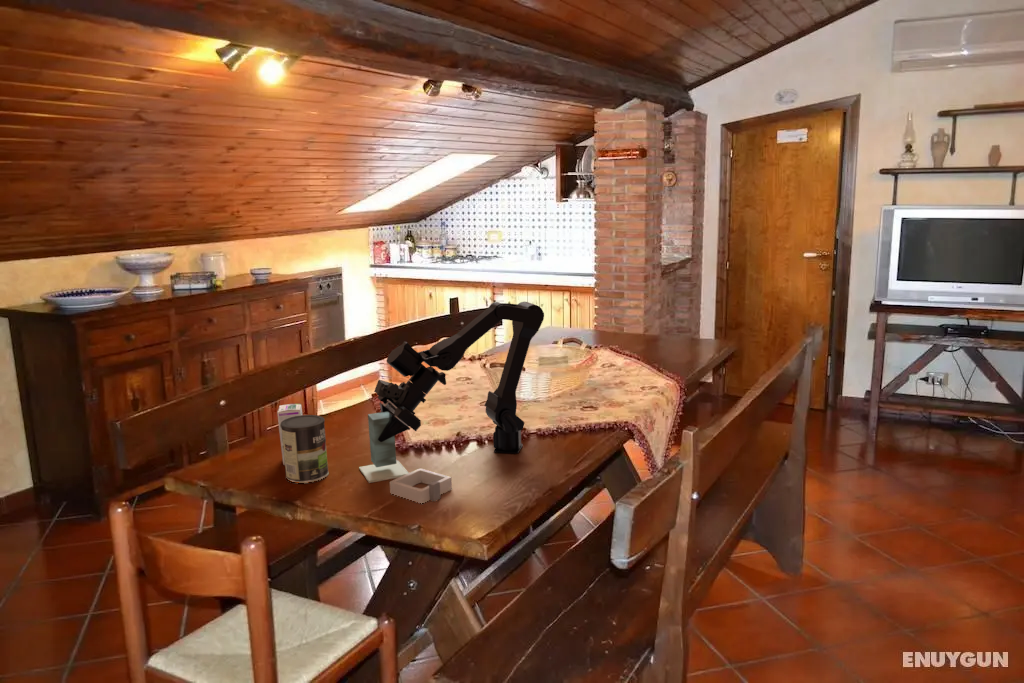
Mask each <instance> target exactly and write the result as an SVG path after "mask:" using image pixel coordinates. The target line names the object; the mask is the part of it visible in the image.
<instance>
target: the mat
mask: <svg viewBox="0 0 1024 683" xmlns="http://www.w3.org/2000/svg"><path fill="white" fill-rule="evenodd" d="M358 469H359V471H360V472H361V474H362V475H363V476H364V478H365V479H366V481H367V482H368V484H370V483H376V482H381V481H387V480H392V479H393V480H394V479H397V478H399V477H401V476H404V475H406V474H408V473H410V472H409V471H408V470H407V469H406V468H405V467H404V465H403V464H402V463H401V462H400V461H399V459H398V460H397V459H396V464H392V465H387V466H382V467H376V466H375V465H374V464H373V463H372V464H368V465H363V466H359V467H358Z"/></svg>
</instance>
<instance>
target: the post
mask: <svg viewBox="0 0 1024 683" xmlns="http://www.w3.org/2000/svg"><path fill="white" fill-rule="evenodd" d="M367 421H368V422H367V423H368V433H369V446H370V447H369V448H370V461H371V462H372V465H373V464H374V465H375V466H376V467H382V466H387V465H392V464H396V460H397V451H396V437H395V436H396V435H395V436H393V437H391V438H389V439H387V440H385V441H383V442H380V441H379V440H378V438H379V436H380V435H381V433H382V431H383V430H384V428H385V427H386V425H387V424H388V422H389V412H388V411H386V412H381V411H380V412H376V413H375V412H374V413H368V414H367Z"/></svg>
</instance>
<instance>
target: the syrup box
mask: <svg viewBox="0 0 1024 683" xmlns="http://www.w3.org/2000/svg"><path fill="white" fill-rule="evenodd" d="M302 408H303V405H302V403H288V404H282V405H281V404H280V405H279V406H278V409H277V421H278V432H279V440H280V450H281V457H282V464H283V466H285V460H284V449H283V439H282V428H281V425H280V424H281V422H282V421H283V420H285V419H288V418H291V417H294V416H301V415H303V409H302Z"/></svg>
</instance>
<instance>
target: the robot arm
mask: <svg viewBox="0 0 1024 683" xmlns="http://www.w3.org/2000/svg"><path fill="white" fill-rule="evenodd" d="M544 319H545V312H544V311H543V308H541V306H539V305H537V304H534V303H531V302H528V301H521V302H519V303H517V304H516V303H509V302H508V303H507V302H505V303H503V302H500V301H495V302H492V303H491V304H489V306H488V307H487V308H486V309H485V310H484V311H482V312H480V313H479V314H478V315H477V316H476V317H475V318H474V319H473V320H472V321H470V322H469V323H468V324H467V325H465V326H464V327H463V328H462V329H460V330H459V331H458V332H457V333H456V334H453V335H452V336H449V337H447V338H444V339H442V340H440V341H438V342H437V343H435V344H433V345H431V347H430V348H429V349H426V350H422V351H417V350H415V349H414V348H413V347H412V345H411V344H410V343H408V342H407V341H403V342H402V344H400V345H398V346H397V347H395V348H394V349H392V350H391V352H390V353H389V354H388V356H387V359H386V363H387V364H388V365H389V366H390V367H391V368H393V369H394V370H395V371H396V372H398V373H399V374H400V375H401V376H403V377H404V378H405V377H410V378H409V379H408V380H407V382H405V381H403V382H401V383H400V384H399V385H398V384H397V383H393V382H391V381H390V382H389V381H385V380H382V379H378V380H377V383H376V385H375V388H374V391H373V393H375V394H376V395H377V396H378V397H377V399H378V400H379V401H380V402H379V408H380V412H386V411H388V412H389V422H388V424H387V425H386V427H385V428H384V430H383V431H382V433H381V435H380V436H379V438H378V440H379V441H380V442H383V441H385V440H387V439H389V438H391V437H393V436H396V435H399V434H402V433H403V432H406V431H410V430H411V429H412V430H413V431H414V432H417V431H418V429H419V428H420V427H421V425H422V424H421V423H422V420H421V419H420V418H419V417H418V416H416V412H415V410H416V408H417V407H418V406H419V405H420V404H421V403H423V404H425V403H426V401H427V399H426V398H425V397H426V396H427V395H428V394H429V393H430V392H431V390H432V389H433V388H434V387H435V385H436V384H437V383H438V382H439V383H441V384H442V385H444V386H446V385H447V379H446V375H447V374H446V373H445V372H447V371H450V370H452V369H454V368H455V366H457V365H458V363H459V362H460V361H461V360H462V359H463V356H464V355H465V353H466V351H467V350H468V349H469V348H470V347H471V346H472V345H473V344H475V343H476V342H477V341H478V340H480V339H481V338H482V337H483V336H484V335H485V334H487V333H488V332H489V331H490V330H491V329H493V328H494V327H495V326H497V324H499V323H500V322H501V321H503V320H507V321H511V325H512V338H511V342H510V345H509V348H508V351H507V355H506V359H505V362H504V366H503V369H502V372H501V377H500V379H499V383H498V386H497V388H496V389H495V390H494V391H490V390H489V391H488V393H487V398H486V402H485V403H484V407H485V413H486V416H487V417H488V418H489V419H490V420H492V423H493V424H494V425H496V426H495V428H494V431H493V433H492V434H493V435H492V439H493V448H494V449H493V450H494V452H493V453H498V454H499V453H503V454H519V452H520V451H521V449H522V448H523V446H524V444H523V443H522V431H523V429H524V426H525V421H524V420H522V419H521V417H519V416H518V415H516V414H517V406H518V402H517V389H518V385H519V381H520V379H521V375H522V371H523V368H524V364H525V360H526V358H527V354H528V352H529V351H528V350H529V347H530V344H531V341H532V339H533V338H534V337H535V335H536V334H537V333H538V331H539V330H540V328H541V326H542V325H543V322H544ZM422 363H425V364H426V365H428V366H425V365H424V364H422ZM435 367H436V368H437V369H439V370H441V372H438V370H437V369H436V368H435ZM442 371H445V372H442ZM381 402H382V403H381Z"/></svg>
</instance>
